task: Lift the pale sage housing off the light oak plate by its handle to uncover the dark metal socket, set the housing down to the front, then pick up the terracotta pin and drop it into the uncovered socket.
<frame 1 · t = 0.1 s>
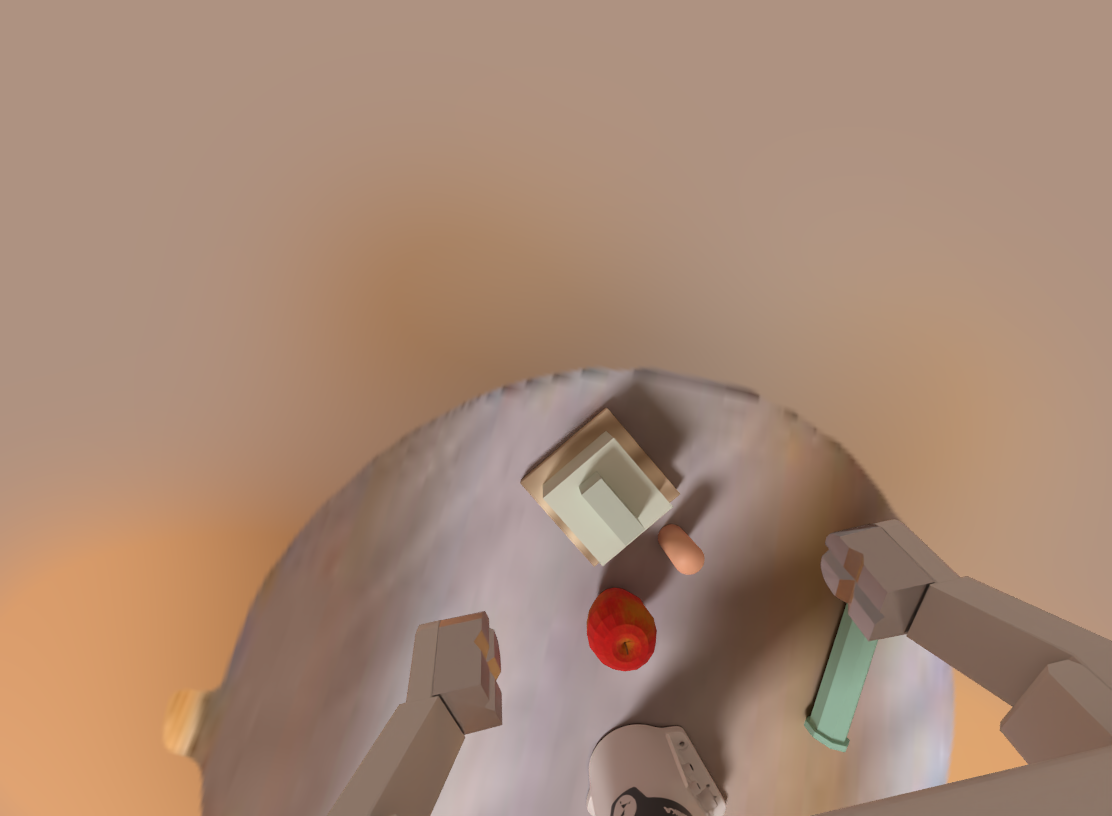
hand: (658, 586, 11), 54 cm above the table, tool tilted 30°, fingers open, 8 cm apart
pale green rod: (839, 645, 69), on the table
apple: (612, 603, 67), on the table
pin: (671, 537, 67), on the table
housing: (600, 488, 64), point 2 cm above the table, touching socket plate
socket plate: (599, 485, 66), on the table
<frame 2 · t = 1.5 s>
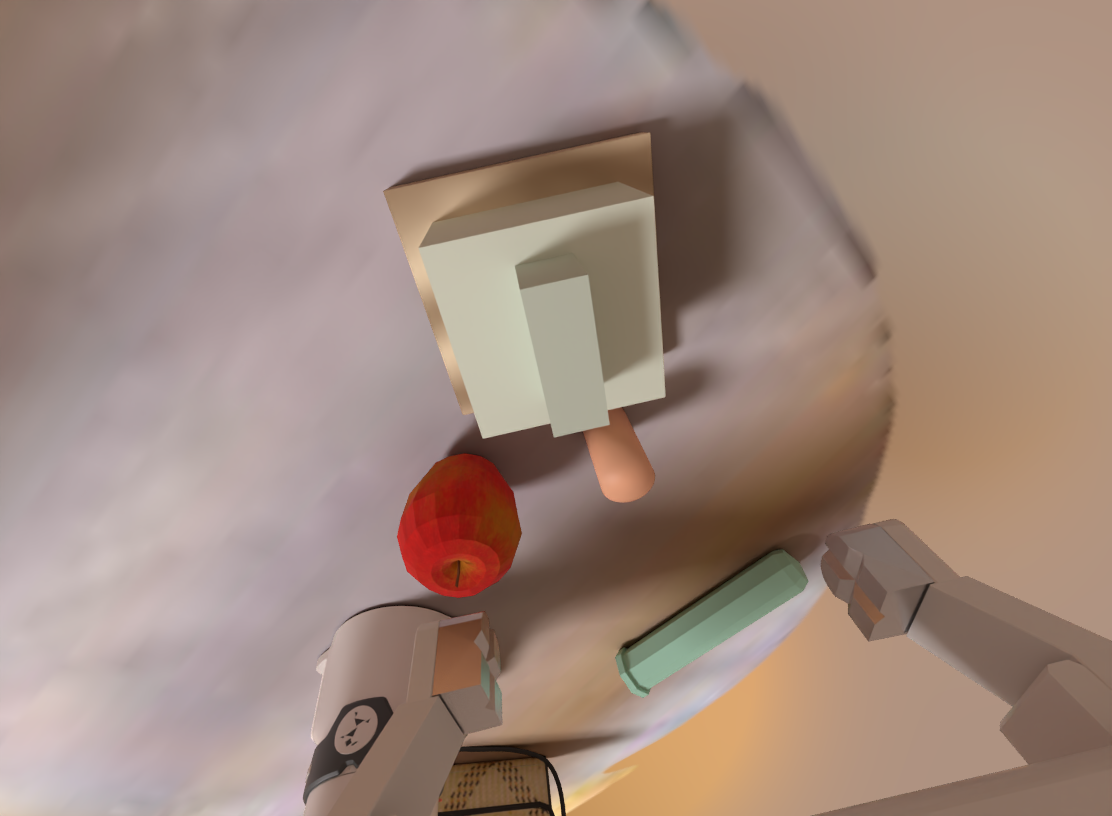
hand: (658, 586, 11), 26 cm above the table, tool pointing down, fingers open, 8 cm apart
pale green rod: (700, 601, 56), on the table
apple: (464, 470, 41), on the table
pin: (603, 421, 40), on the table
housing: (543, 293, 31), point 2 cm above the table, touching socket plate
socket plate: (540, 284, 32), on the table
clutch purse: (462, 755, 69), on the table
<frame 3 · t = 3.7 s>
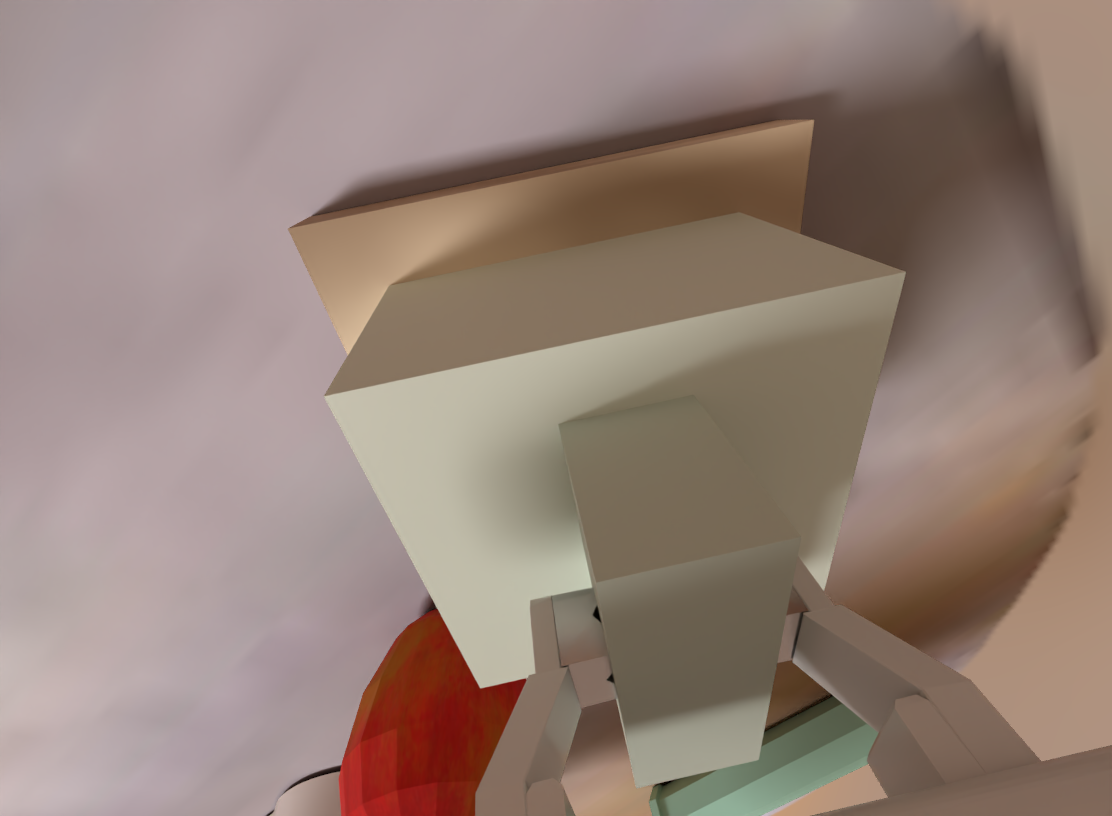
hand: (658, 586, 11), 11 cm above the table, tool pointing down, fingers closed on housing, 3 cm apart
pale green rod: (759, 733, 44), on the table
apple: (453, 618, 28), on the table
housing: (588, 397, 18), point 2 cm above the table, touching gripper, socket plate
socket plate: (579, 374, 19), on the table
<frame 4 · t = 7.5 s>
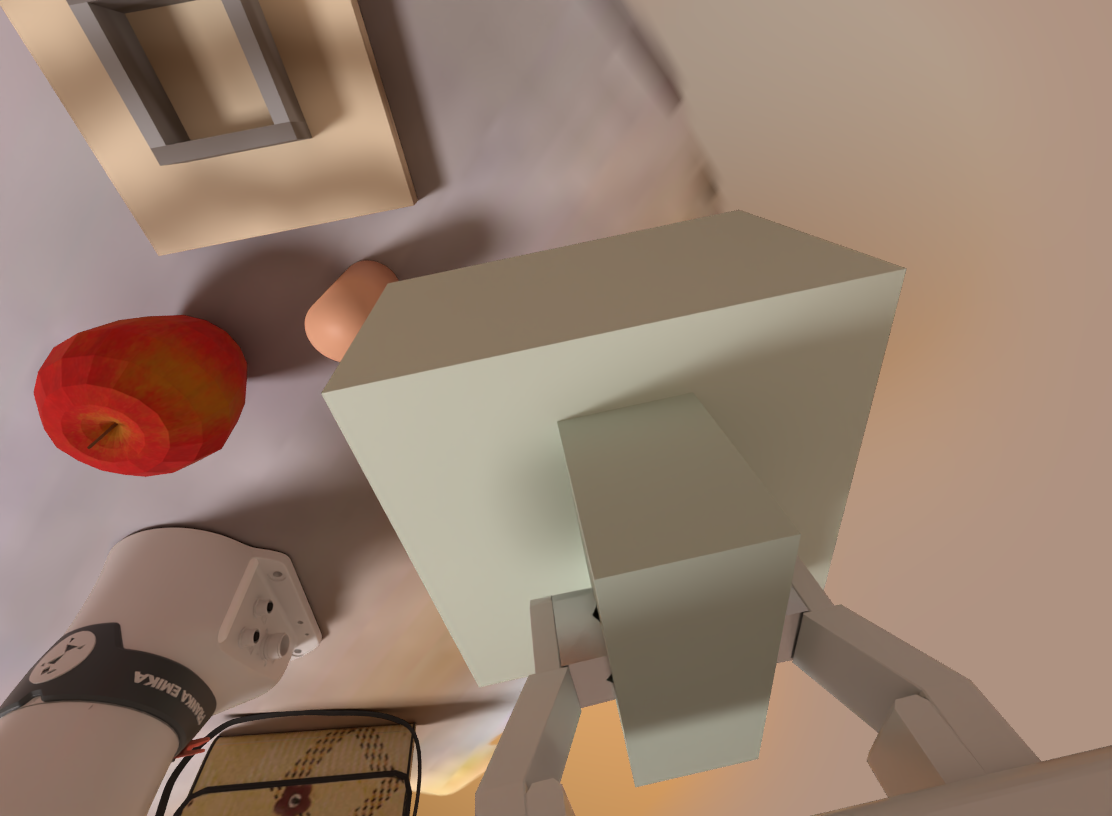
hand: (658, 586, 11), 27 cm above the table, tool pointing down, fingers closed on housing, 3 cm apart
apple: (210, 348, 34), on the table
pin: (372, 288, 33), on the table
housing: (587, 396, 18), point 19 cm above the table, touching gripper
socket plate: (231, 76, 26), on the table
clutch purse: (317, 720, 62), on the table
when the fingers open (10 cm above the table, at t = 11.2 s): housing drops 1 cm, on the table.
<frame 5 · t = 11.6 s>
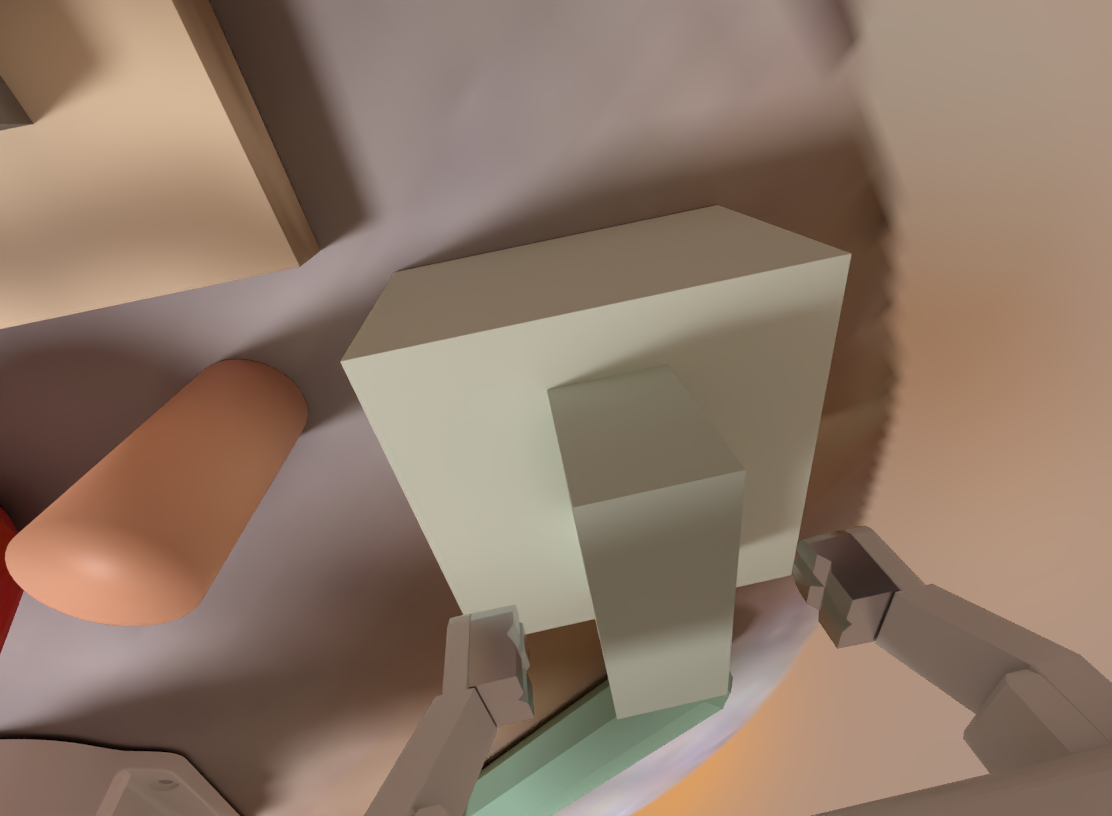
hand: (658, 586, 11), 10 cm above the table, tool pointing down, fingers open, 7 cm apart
pale green rod: (578, 703, 35), on the table
pin: (252, 405, 18), on the table
housing: (579, 379, 19), on the table
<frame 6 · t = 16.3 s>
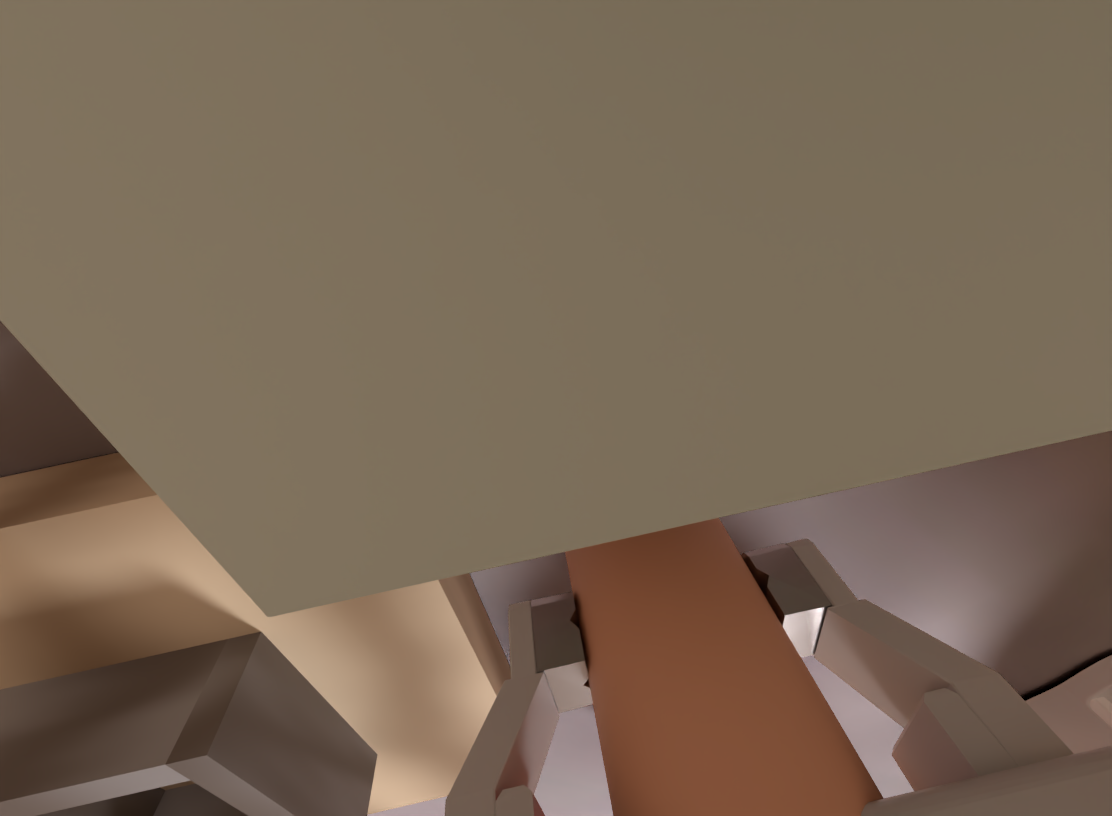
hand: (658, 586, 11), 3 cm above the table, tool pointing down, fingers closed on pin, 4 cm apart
pin: (627, 503, 13), on the table, touching gripper
socket plate: (234, 659, 14), on the table
when the fingers open (6 cm above the table, at t = 23.4 s): pin stays where it is, resting on socket plate.
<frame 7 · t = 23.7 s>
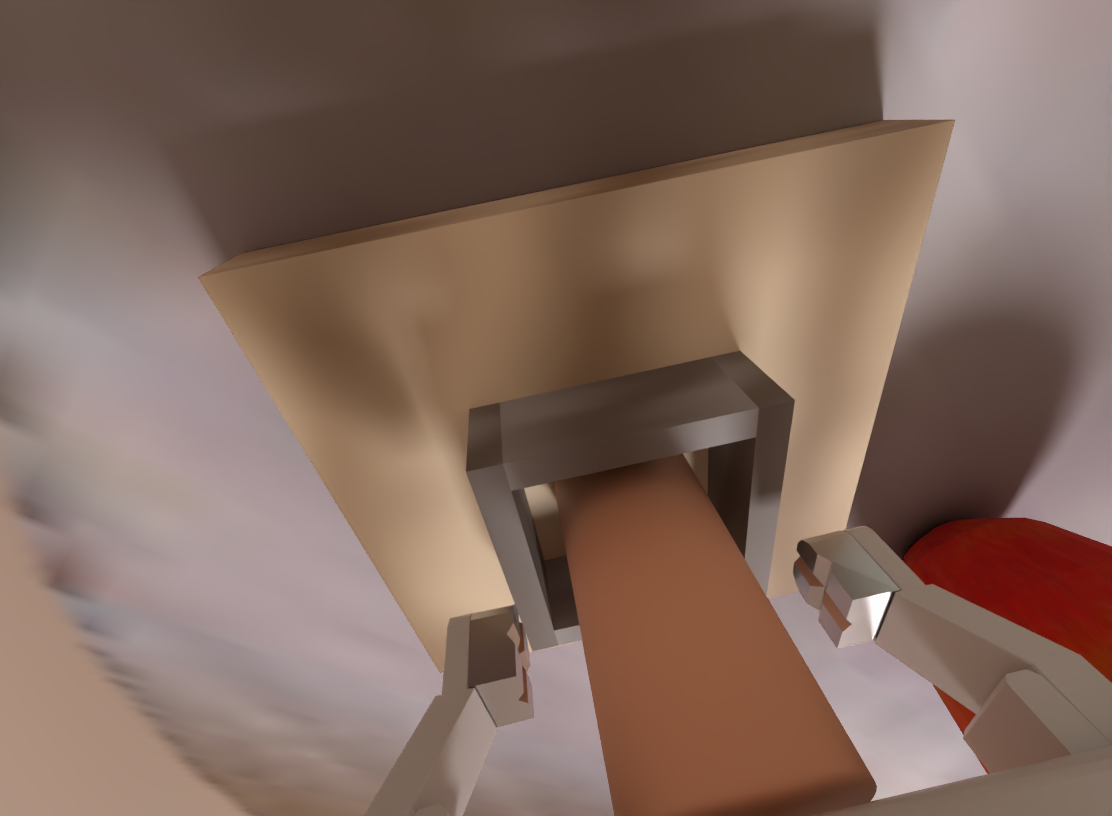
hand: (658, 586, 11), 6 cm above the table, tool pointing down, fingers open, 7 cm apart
apple: (937, 537, 21), on the table
pin: (620, 479, 14), point 2 cm above the table, touching socket plate
socket plate: (603, 442, 15), on the table
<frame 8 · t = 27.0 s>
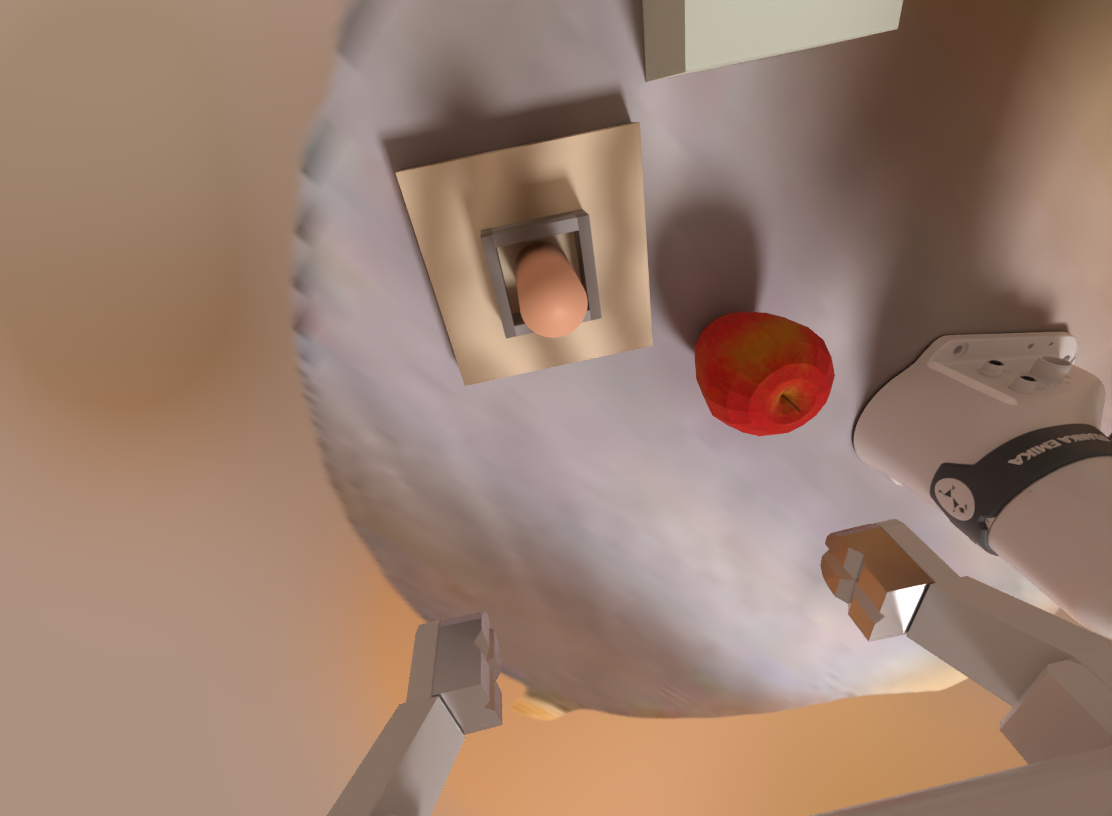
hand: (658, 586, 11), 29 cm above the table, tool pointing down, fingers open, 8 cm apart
apple: (721, 338, 41), on the table
pin: (541, 269, 33), point 2 cm above the table, touching socket plate
socket plate: (538, 263, 35), on the table
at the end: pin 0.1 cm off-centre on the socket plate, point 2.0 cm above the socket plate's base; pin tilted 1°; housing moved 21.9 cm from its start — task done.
